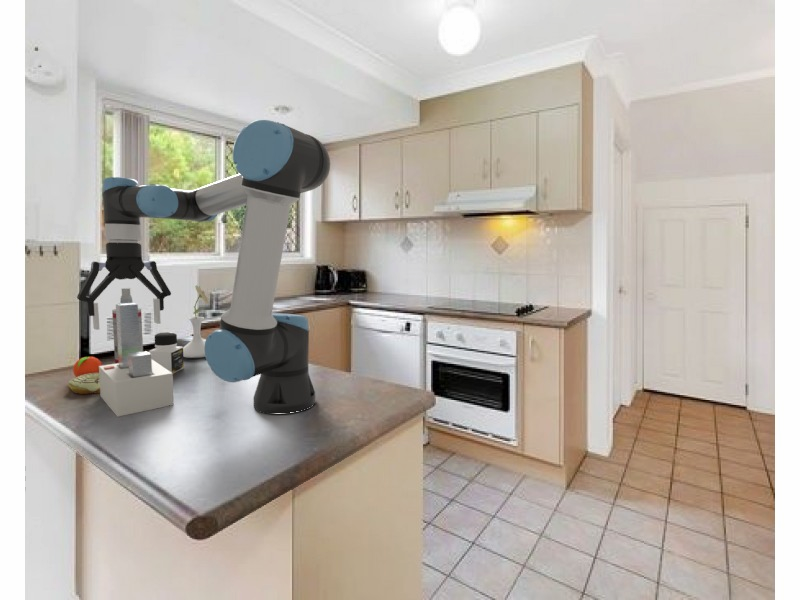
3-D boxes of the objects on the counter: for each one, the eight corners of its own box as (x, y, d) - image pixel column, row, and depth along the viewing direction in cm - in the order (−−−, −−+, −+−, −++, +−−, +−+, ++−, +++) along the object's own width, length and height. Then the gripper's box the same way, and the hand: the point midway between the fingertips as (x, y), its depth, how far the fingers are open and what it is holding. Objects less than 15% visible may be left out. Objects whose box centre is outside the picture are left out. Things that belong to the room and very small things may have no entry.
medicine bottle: (172, 374, 135) (170, 335, 133) (149, 373, 135) (147, 334, 133) (184, 368, 142) (182, 331, 140) (162, 367, 142) (160, 330, 141)
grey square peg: (153, 406, 109) (151, 354, 107) (134, 410, 106) (132, 356, 104) (148, 401, 112) (146, 351, 110) (130, 405, 109) (127, 353, 107)
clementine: (91, 385, 123) (90, 360, 122) (65, 385, 123) (63, 360, 122) (108, 377, 131) (107, 353, 130) (83, 376, 130) (82, 353, 130)
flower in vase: (212, 359, 153) (210, 287, 150) (176, 361, 150) (173, 287, 147) (217, 351, 165) (216, 283, 162) (184, 352, 162) (181, 283, 159)
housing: (152, 387, 123) (150, 357, 122) (173, 404, 110) (172, 371, 109) (100, 396, 115) (98, 364, 114) (117, 416, 102) (115, 381, 101)
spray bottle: (125, 369, 138) (121, 289, 135) (110, 366, 142) (105, 288, 139) (148, 364, 145) (145, 287, 142) (133, 361, 149) (130, 286, 146)
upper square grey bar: (140, 371, 115) (137, 304, 113) (123, 374, 112) (119, 305, 110) (136, 368, 118) (133, 302, 116) (119, 370, 115) (115, 303, 113)
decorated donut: (96, 397, 115) (96, 383, 114) (59, 394, 116) (58, 380, 115) (126, 384, 125) (125, 371, 124) (91, 382, 126) (90, 369, 126)
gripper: (172, 242, 122) (175, 319, 125) (59, 240, 105) (65, 329, 108) (181, 243, 117) (184, 322, 120) (64, 240, 100) (70, 333, 102)
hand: (128, 326), depth 114 cm, fingers open, 13 cm apart
